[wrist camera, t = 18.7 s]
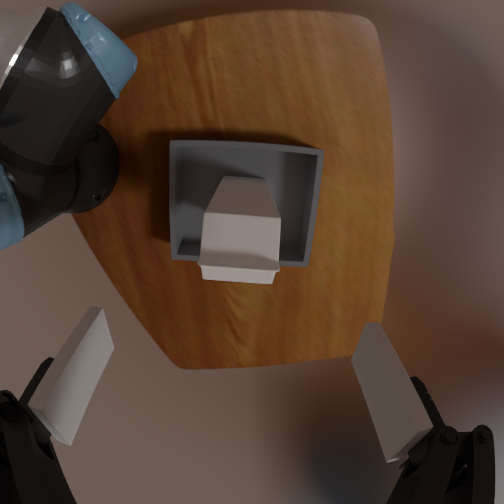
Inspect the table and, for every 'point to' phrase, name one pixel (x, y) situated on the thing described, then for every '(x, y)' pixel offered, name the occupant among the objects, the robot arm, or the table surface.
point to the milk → (241, 232)
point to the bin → (244, 165)
